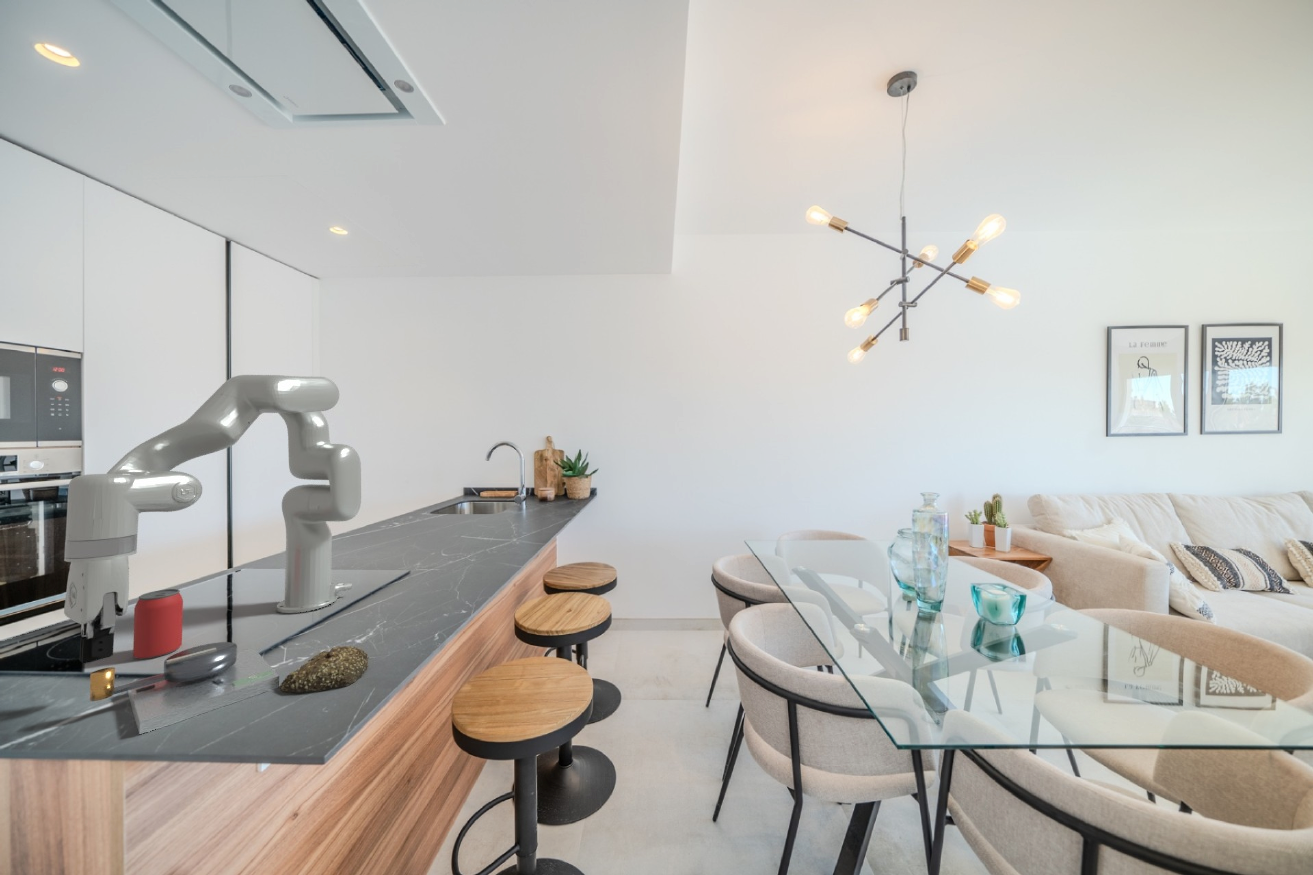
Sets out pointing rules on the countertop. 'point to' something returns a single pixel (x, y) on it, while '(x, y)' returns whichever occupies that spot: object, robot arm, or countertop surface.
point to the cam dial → (171, 669)
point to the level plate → (201, 692)
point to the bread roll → (328, 670)
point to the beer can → (158, 623)
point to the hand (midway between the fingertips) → (96, 658)
